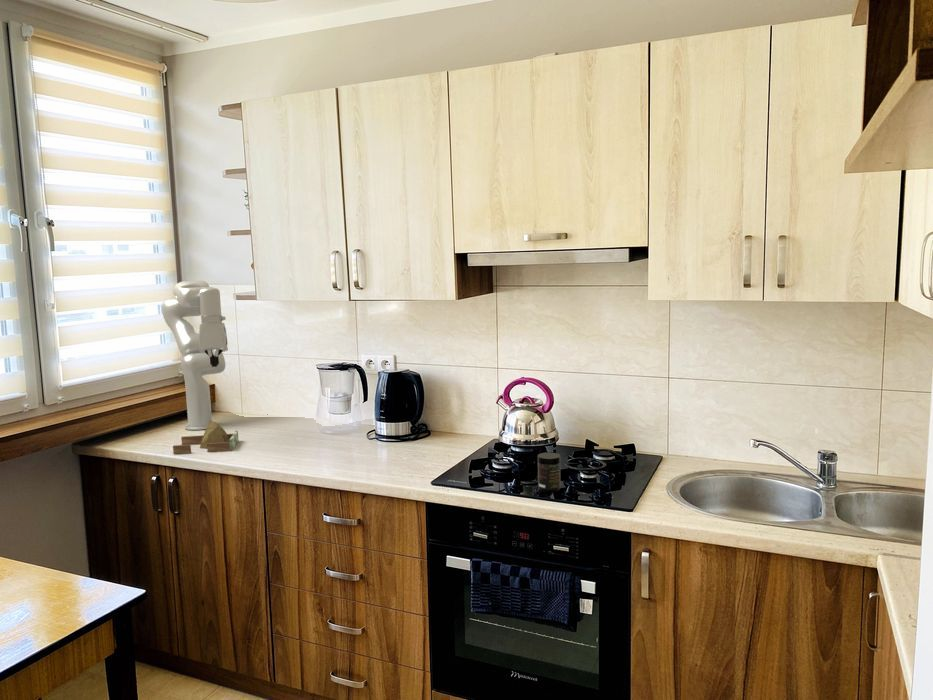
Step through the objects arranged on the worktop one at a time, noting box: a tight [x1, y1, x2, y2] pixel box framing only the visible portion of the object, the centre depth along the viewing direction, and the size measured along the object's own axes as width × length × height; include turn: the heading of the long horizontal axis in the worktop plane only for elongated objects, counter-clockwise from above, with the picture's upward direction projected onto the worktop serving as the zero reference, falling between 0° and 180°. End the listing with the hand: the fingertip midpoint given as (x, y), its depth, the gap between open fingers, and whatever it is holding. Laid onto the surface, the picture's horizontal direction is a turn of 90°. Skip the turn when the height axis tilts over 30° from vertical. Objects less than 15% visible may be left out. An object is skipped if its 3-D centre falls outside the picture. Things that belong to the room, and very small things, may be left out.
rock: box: [199, 420, 229, 449], centre depth 270 cm, size 11×9×10 cm
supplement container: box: [537, 452, 561, 493], centre depth 213 cm, size 7×7×10 cm
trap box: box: [172, 430, 239, 455], centre depth 273 cm, size 20×21×4 cm
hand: (214, 366), depth 280 cm, fingers closed
